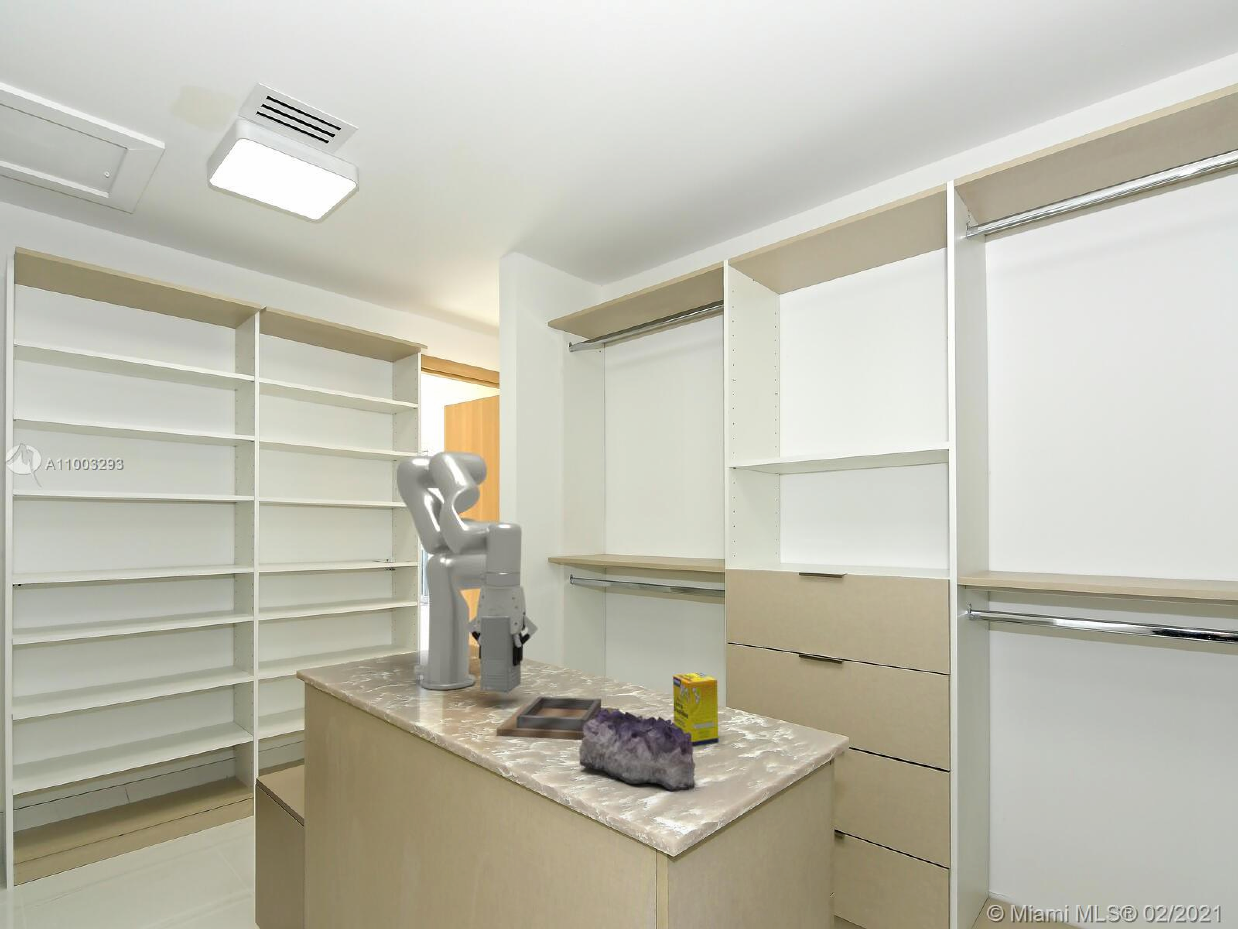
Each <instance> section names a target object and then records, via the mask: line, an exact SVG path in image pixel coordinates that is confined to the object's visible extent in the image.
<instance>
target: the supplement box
mask: <svg viewBox="0 0 1238 929" xmlns="http://www.w3.org/2000/svg"><path fill="white" fill-rule="evenodd" d="M672 682H673V683H672V685H673V686H672V687H673V689H672V690H673V692H672V693H673V694H672V695H673V696H672V697H673V698H672V699H673V723H674V724H675V725H676V726H677V727H680V728H681V729H682V730H683V732H684V734H685V733H688V732H689V733H691V742H692V747H697V746H698V747H699V746H703V745H704V746H705V745H710V744H711V745H712V744H715V743H719V717H718V716H719V715H718V714H719V713H718V711H719V709H718V708H719V706H718V705H719V704H718V699H719V698H718V679H717V678H713V677H710V676H708V675H706V674H704V673H702V672H694V673H693V672H691V673H684V674H683V673H682V674H675V675H673V676H672Z"/></svg>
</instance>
